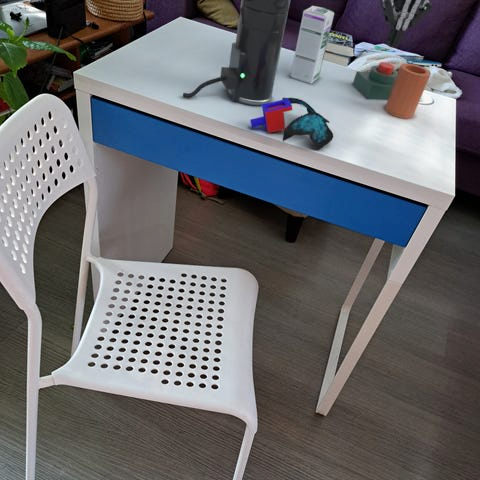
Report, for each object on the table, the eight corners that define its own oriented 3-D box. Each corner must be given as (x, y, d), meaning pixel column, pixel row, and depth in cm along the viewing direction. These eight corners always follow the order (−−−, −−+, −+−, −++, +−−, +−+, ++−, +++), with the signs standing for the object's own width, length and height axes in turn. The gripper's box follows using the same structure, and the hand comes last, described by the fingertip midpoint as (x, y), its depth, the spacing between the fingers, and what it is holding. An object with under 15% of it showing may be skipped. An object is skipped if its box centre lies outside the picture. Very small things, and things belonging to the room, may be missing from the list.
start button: (381, 75, 117) (384, 67, 116) (374, 69, 119) (376, 61, 118) (394, 76, 118) (397, 68, 117) (387, 70, 120) (389, 62, 119)
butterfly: (339, 145, 92) (295, 115, 88) (322, 166, 95) (279, 139, 92) (331, 107, 104) (293, 80, 100) (316, 127, 107) (278, 101, 104)
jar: (393, 118, 112) (410, 74, 105) (380, 105, 116) (395, 62, 110) (418, 119, 114) (436, 76, 108) (403, 106, 118) (420, 64, 112)
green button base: (367, 98, 118) (374, 77, 114) (352, 84, 123) (359, 63, 119) (402, 100, 121) (410, 78, 118) (387, 86, 126) (394, 65, 123)
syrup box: (311, 84, 119) (328, 16, 108) (288, 77, 120) (303, 8, 109) (318, 77, 123) (336, 11, 112) (296, 70, 124) (311, 4, 113)
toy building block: (290, 119, 99) (251, 128, 99) (288, 98, 96) (247, 107, 96) (294, 127, 97) (254, 136, 97) (292, 105, 94) (250, 115, 94)
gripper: (439, -45, 107) (407, 42, 119) (387, -53, 103) (359, 38, 115) (459, -35, 102) (423, 54, 115) (406, -43, 98) (374, 50, 111)
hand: (391, 46), depth 115 cm, fingers closed
